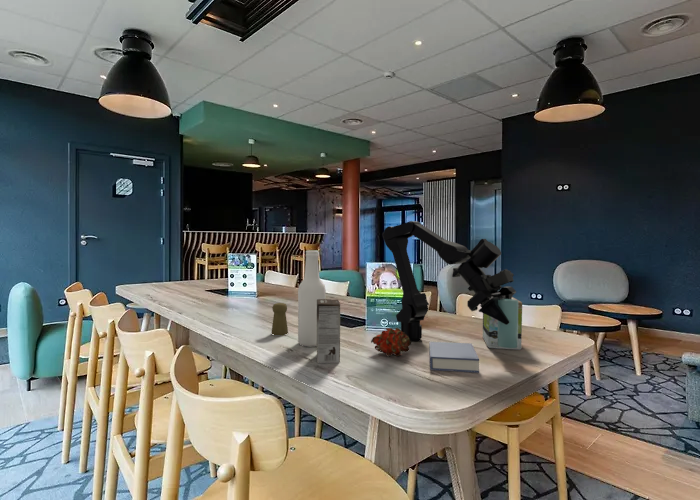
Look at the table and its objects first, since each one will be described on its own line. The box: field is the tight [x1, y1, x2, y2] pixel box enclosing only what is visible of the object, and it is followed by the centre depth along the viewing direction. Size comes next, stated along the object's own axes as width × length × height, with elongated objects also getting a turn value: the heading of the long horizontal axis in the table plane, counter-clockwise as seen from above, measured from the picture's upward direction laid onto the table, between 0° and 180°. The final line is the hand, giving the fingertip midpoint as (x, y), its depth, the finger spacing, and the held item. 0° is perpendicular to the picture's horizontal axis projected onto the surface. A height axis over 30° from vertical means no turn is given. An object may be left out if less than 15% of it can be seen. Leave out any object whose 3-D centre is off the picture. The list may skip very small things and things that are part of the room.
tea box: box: [482, 296, 523, 350], centre depth 128 cm, size 15×10×15 cm
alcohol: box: [297, 249, 327, 347], centre depth 127 cm, size 9×9×30 cm
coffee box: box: [316, 298, 341, 364], centre depth 111 cm, size 9×6×16 cm
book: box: [428, 341, 480, 374], centre depth 108 cm, size 12×16×3 cm
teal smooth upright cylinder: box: [497, 299, 518, 348], centre depth 109 cm, size 5×5×12 cm
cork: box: [271, 302, 289, 335], centre depth 141 cm, size 6×6×11 cm
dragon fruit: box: [370, 327, 412, 357], centre depth 115 cm, size 8×8×12 cm
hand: (512, 322), depth 108 cm, fingers closed on teal smooth upright cylinder, 5 cm apart
